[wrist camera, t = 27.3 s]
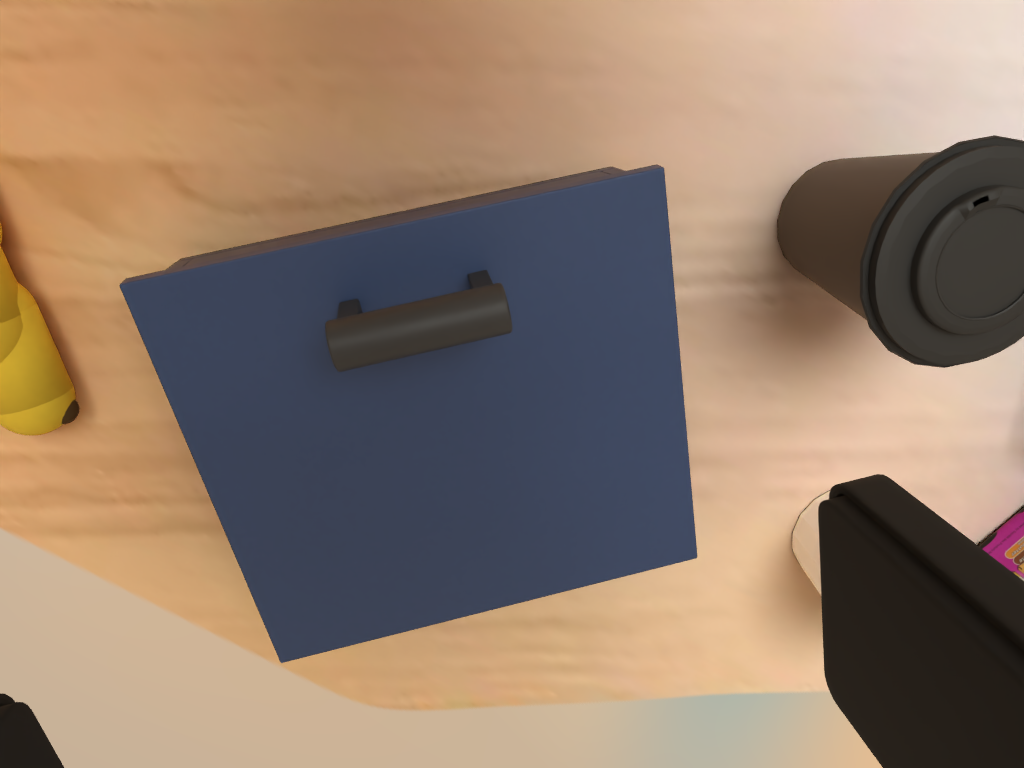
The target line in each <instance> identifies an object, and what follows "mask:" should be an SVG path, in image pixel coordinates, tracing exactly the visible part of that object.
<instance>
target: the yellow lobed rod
mask: <svg viewBox="0 0 1024 768" xmlns="http://www.w3.org/2000/svg"><path fill="white" fill-rule="evenodd" d="M2 235H3V234H2V226H1V223H0V425H2V426H3V427H5V428H6V429H8V430H10V431H12V432H15V433H17V434H22V435H41V434H45V433H48V432H51V431H53V430H55V429H57V428H59V427H60V426H61V425H62V424H67V423H70V422H72V421H73V420H74V419H75V418H76V417H77V416H78V414H79V405H78V403H77V401H76V396H75V390H74V387H73V384H72V382H71V380H70V377H69V375H68V373H67V371H66V368H65V366H64V364H63V362H62V359H61V357H60V355H59V352H58V350H57V348H56V346H55V343H54V341H53V339H52V337H51V334H50V332H49V330H48V328H47V325H46V323H45V321H44V319H43V316H42V314H41V312H40V310H39V307H38V305H37V303H36V301H35V299H34V298H33V296H32V295H31V294H30V292H29V291H28V290H27V289H26V288H25V287H23V286H22V285H21V284H19V283H17V281H16V279H15V277H14V274H13V272H12V270H11V268H10V265H9V263H8V261H7V259H6V257H5V254H4V252H3V250H2V248H1V242H2Z"/></svg>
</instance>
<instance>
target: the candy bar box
mask: <svg viewBox="0 0 1024 768" xmlns="http://www.w3.org/2000/svg"><path fill="white" fill-rule="evenodd" d="M979 547H980V548H981V549H983V550H984V551H985V552H987V553H988V554H989V555H991V556H992V557H993V558H995V559H996V560H997V561H998V562H1000V563H1001V564H1002V565H1004V566H1005V567H1006V568H1008V569H1009V570H1010V571H1011V572H1013V573H1014V574H1015V575H1017V576H1018V577H1019V578H1021V579H1022V580H1023V581H1024V508H1022V509H1021V510H1020V511H1019V512H1018V513H1017V514H1015V515H1014V516H1013V517H1012V518H1011V519H1009V520H1008V521H1007V522H1006V523H1005V524H1004V525H1002V526H1001V527H1000V528H999V529H998V530H997V531H995V532H994V533H993V534H992V535H991V536H990V537H988V538H987V539H986V540H985V541H984V542H983V543H981V544H980V545H979Z"/></svg>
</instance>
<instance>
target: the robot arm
mask: <svg viewBox="0 0 1024 768" xmlns="http://www.w3.org/2000/svg"><path fill="white" fill-rule="evenodd" d="M818 523H819V548H820V573H821V598H822V623H823V648H824V671H825V678H826V682H827V685H828V688H829V690H830V693H831V695H832V697H833V699H834V701H835V702H836V704H837V705H838V707H839V708H840V709H841V711H842V712H843V714H844V715H845V716H846V718H847V719H848V720H849V722H850V723H851V724H852V726H853V727H854V729H855V730H856V731H857V733H858V734H859V735H860V737H861V738H862V740H863V741H864V742H865V744H866V745H867V746H868V748H869V749H870V750H871V752H872V753H873V755H874V756H875V757H876V759H877V760H878V761H879V763H880V764H881V766H882V767H883V768H1024V581H1023V580H1022V579H1021V578H1019V577H1018V576H1017V575H1015V574H1014V573H1013V572H1011V571H1010V570H1009V569H1008V568H1006V567H1005V566H1004V565H1002V564H1001V563H1000V562H998V561H997V560H996V559H995V558H993V557H992V556H991V555H989V554H988V553H987V552H985V551H984V550H983V549H981V548H980V547H979V546H978V545H976V544H975V543H974V542H972V541H971V540H970V539H968V538H967V537H966V536H965V535H963V534H962V533H961V532H959V531H958V530H957V529H955V528H954V527H953V526H951V525H950V524H949V523H948V522H946V521H945V520H944V519H942V518H941V517H940V516H938V515H937V514H936V513H935V512H933V511H932V510H931V509H929V508H928V507H927V506H925V505H924V504H923V503H921V502H920V501H919V500H918V499H916V498H915V497H914V496H912V495H911V494H910V493H908V492H907V491H906V490H905V489H903V488H902V487H901V486H899V485H898V484H897V483H895V482H894V481H893V480H891V479H890V478H888V477H887V476H885V475H878V474H877V475H873V476H869V477H865V478H861V479H857V480H853V481H849V482H845V483H841V484H837V485H835V486H833V487H832V488H831V491H830V493H829V499H828V500H824V501H822V502H821V503H820V505H819V507H818ZM0 768H64V767H63V765H62V763H61V761H60V759H59V758H58V756H57V754H56V753H55V751H54V749H53V747H52V745H51V743H50V742H49V740H48V738H47V737H46V735H45V733H44V731H43V729H42V728H41V726H40V724H39V722H38V721H37V719H36V717H35V715H34V714H33V712H32V710H31V709H30V708H29V706H28V705H26V704H24V703H23V702H16V703H15V701H14V700H13V699H12V698H11V697H9V696H8V695H6V694H0Z"/></svg>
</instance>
